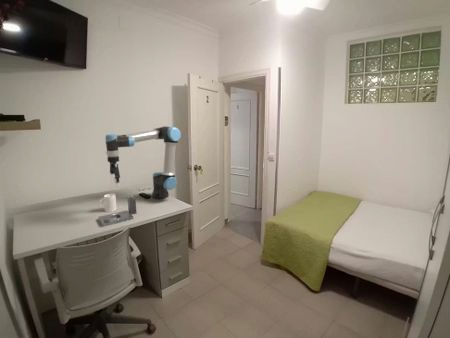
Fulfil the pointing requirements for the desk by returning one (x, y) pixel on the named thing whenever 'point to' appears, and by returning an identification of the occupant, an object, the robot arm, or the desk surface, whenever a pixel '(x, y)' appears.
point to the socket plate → (108, 219)
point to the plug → (132, 205)
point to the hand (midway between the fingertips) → (115, 184)
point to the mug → (109, 202)
